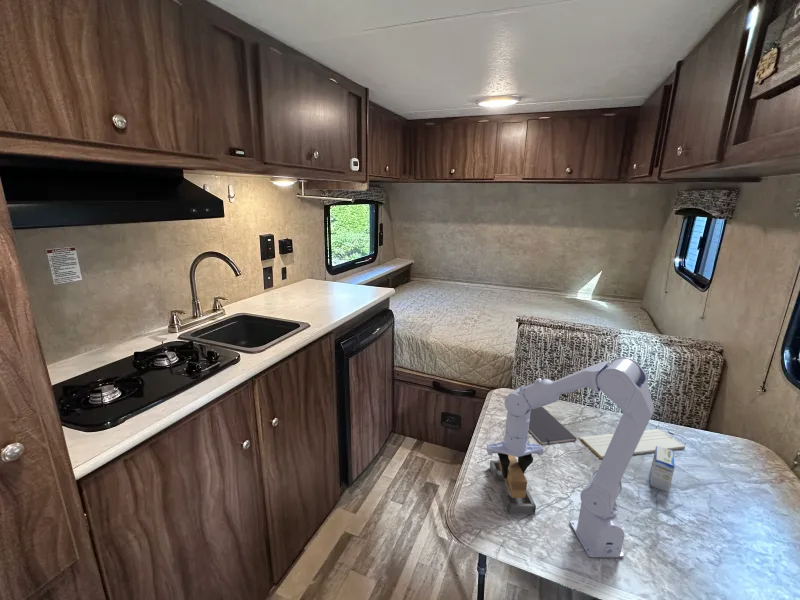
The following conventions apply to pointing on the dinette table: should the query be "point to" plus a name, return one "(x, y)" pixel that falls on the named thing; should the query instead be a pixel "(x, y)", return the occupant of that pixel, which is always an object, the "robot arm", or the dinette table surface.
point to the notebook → (547, 427)
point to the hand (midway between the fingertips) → (511, 475)
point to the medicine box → (662, 468)
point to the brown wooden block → (515, 479)
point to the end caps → (510, 503)
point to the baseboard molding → (644, 446)
